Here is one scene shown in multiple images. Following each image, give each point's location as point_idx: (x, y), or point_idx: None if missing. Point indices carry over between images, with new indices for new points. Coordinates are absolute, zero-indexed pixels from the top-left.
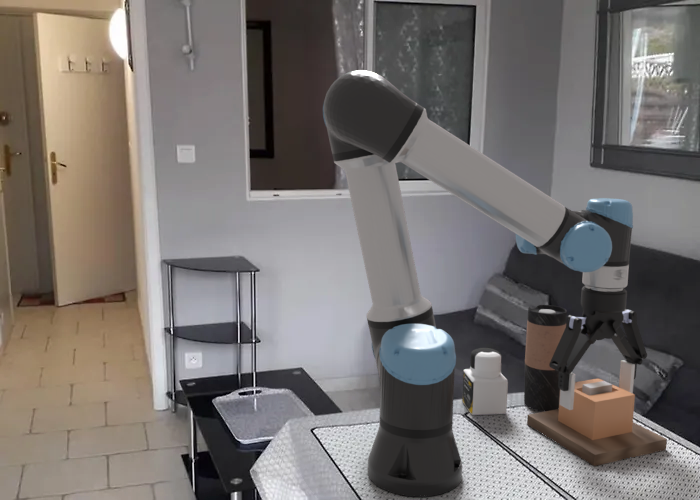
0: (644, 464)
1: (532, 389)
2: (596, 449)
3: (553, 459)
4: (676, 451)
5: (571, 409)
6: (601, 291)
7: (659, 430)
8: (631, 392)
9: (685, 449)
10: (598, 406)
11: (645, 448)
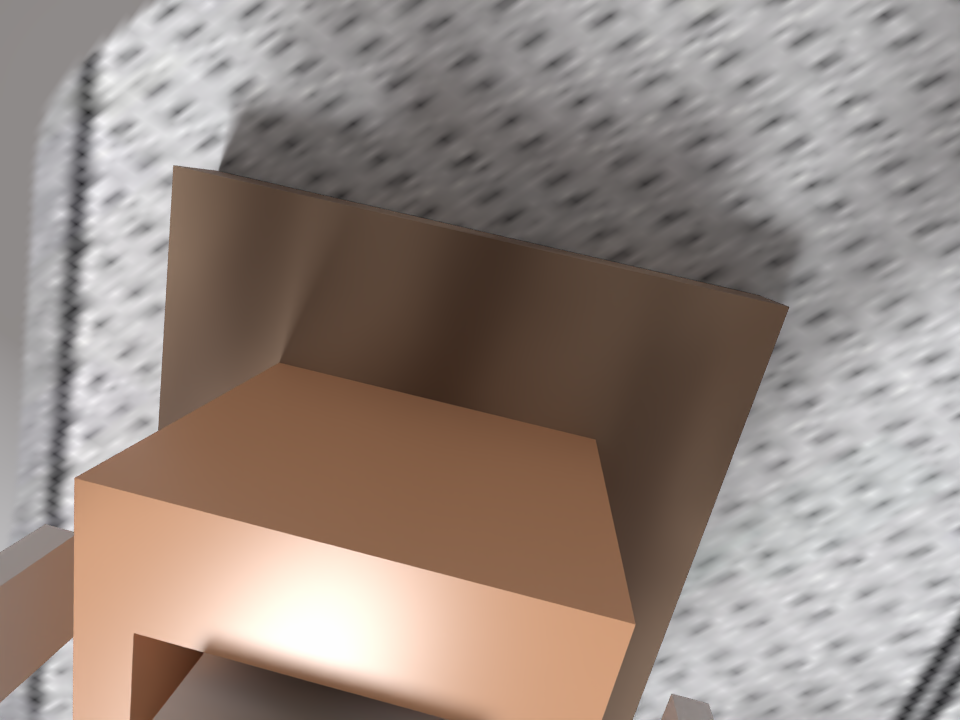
0: (490, 132)
1: None
2: (704, 348)
3: (860, 480)
4: (179, 122)
5: (692, 700)
6: None
7: (46, 339)
8: (4, 562)
9: (111, 106)
10: (578, 572)
11: (364, 206)
